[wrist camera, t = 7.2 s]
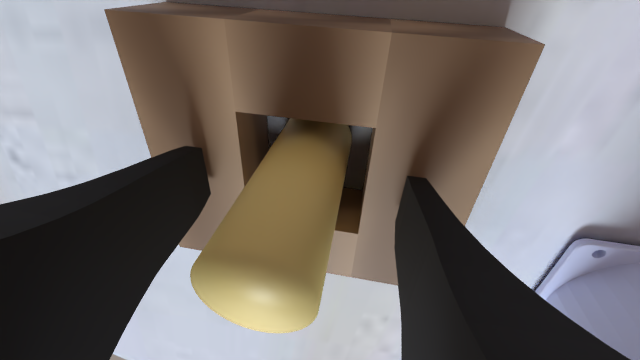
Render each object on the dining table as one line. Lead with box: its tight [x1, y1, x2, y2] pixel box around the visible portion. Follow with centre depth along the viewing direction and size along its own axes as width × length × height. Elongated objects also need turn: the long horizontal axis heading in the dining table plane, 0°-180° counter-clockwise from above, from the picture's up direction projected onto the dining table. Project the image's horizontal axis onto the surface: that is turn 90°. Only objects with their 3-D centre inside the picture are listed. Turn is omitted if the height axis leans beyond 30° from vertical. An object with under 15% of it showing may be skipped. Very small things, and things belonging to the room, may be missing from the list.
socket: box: [105, 2, 545, 285], centre depth 12 cm, size 12×10×3 cm
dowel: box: [190, 118, 352, 333], centre depth 10 cm, size 3×3×8 cm
